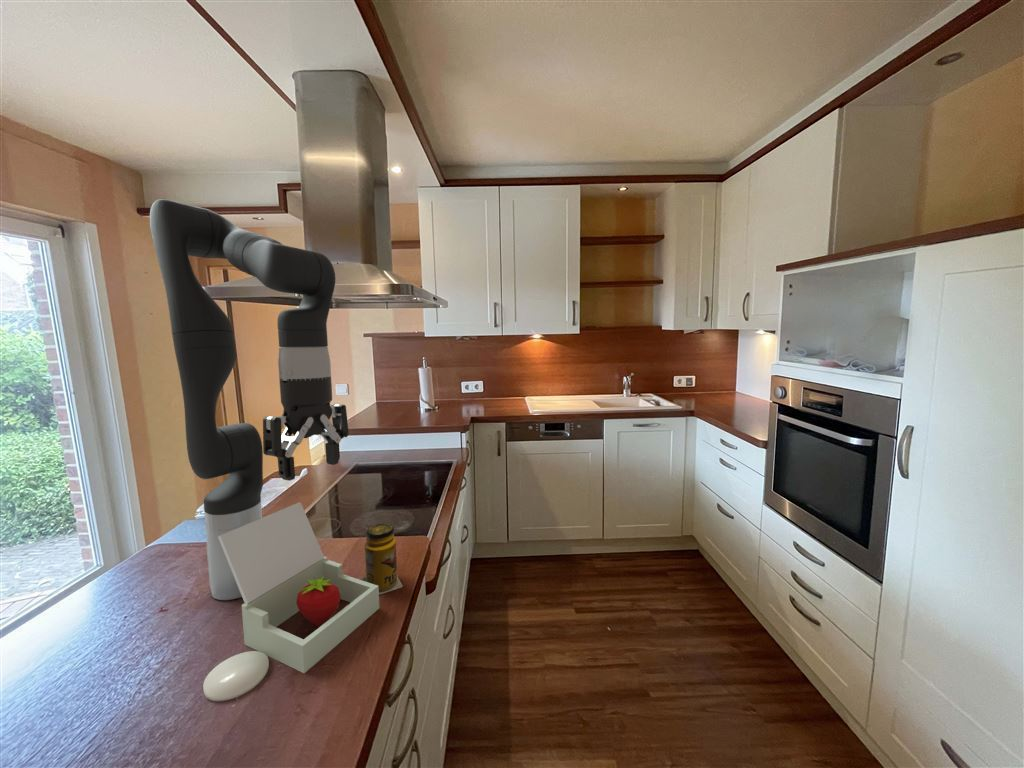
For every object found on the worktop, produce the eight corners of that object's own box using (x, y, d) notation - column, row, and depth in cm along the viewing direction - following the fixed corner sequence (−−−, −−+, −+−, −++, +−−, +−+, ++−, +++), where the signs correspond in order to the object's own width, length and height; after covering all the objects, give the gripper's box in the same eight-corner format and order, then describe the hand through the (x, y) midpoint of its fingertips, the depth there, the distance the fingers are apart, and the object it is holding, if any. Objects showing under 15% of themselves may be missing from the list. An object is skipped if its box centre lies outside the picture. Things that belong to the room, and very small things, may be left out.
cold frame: (222, 633, 68) (214, 535, 66) (304, 581, 82) (300, 500, 80) (304, 673, 60) (297, 563, 58) (379, 608, 74) (376, 518, 72)
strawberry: (327, 643, 66) (324, 586, 65) (289, 635, 67) (285, 580, 66) (349, 618, 72) (347, 566, 70) (313, 612, 73) (310, 561, 72)
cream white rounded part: (191, 688, 57) (190, 683, 57) (247, 649, 64) (247, 644, 64) (225, 709, 54) (225, 704, 54) (280, 666, 61) (280, 661, 61)
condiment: (403, 587, 81) (401, 531, 80) (360, 602, 76) (357, 542, 75) (392, 569, 87) (391, 517, 86) (351, 582, 82) (349, 527, 81)
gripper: (325, 371, 73) (330, 457, 74) (246, 377, 60) (254, 482, 61) (356, 372, 70) (360, 462, 71) (280, 379, 57) (288, 489, 58)
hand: (311, 471), depth 66 cm, fingers open, 8 cm apart
